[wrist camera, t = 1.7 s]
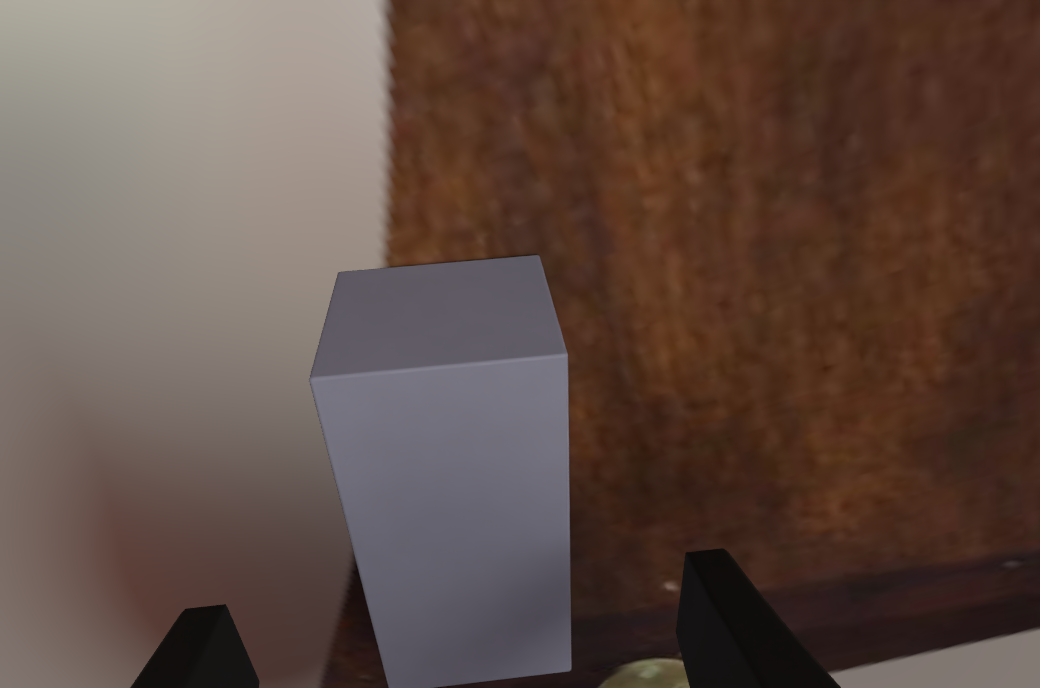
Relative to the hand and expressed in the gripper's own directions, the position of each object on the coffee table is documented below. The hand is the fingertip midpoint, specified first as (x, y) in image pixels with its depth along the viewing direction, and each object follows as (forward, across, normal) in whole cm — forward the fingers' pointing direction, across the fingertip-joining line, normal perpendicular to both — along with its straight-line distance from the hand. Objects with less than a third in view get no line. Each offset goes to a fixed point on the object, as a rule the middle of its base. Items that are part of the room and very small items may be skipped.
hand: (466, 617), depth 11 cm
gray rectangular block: (+5, 0, 0) cm, 5 cm away
